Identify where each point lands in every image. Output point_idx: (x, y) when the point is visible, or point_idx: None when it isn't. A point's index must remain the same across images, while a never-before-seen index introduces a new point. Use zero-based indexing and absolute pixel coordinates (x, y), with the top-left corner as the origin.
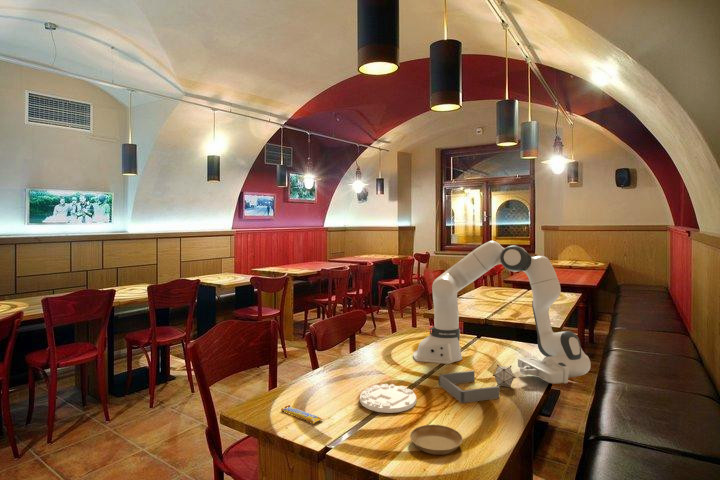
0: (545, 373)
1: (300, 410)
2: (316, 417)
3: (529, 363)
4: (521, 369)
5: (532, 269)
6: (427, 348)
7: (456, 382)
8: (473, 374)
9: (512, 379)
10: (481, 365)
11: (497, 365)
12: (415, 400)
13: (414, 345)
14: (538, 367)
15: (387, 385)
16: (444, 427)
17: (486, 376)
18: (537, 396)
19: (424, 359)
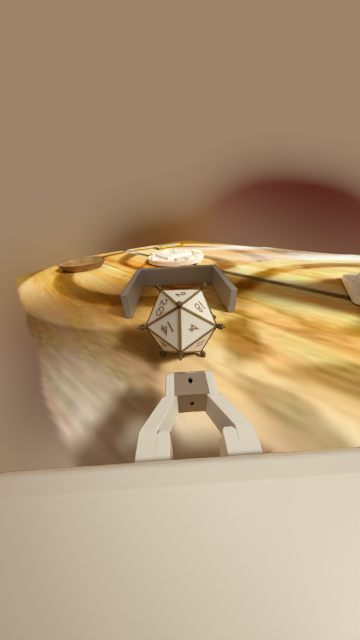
0: (1, 473)
1: (172, 244)
2: (160, 247)
3: (282, 469)
4: (198, 371)
5: None
6: None
7: (217, 291)
8: (229, 295)
9: (150, 332)
10: None
11: (202, 285)
12: (158, 262)
13: None
14: (125, 487)
15: (197, 253)
16: (90, 264)
17: (271, 340)
18: (61, 399)
19: (347, 279)
